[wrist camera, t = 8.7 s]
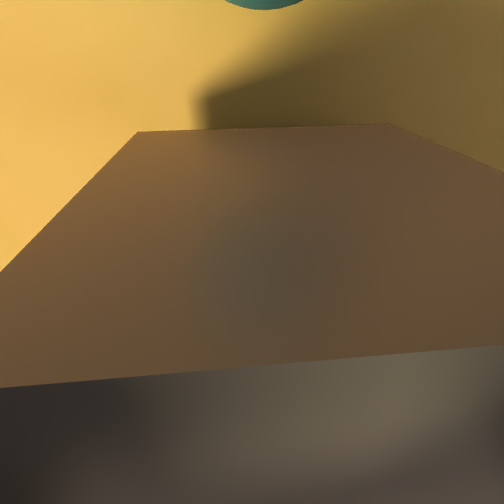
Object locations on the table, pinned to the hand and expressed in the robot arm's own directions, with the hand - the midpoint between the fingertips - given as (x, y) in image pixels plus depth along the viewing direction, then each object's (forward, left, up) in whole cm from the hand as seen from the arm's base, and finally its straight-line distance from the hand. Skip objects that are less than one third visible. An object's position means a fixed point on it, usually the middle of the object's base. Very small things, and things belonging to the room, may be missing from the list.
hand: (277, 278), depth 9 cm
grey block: (0, 0, -3) cm, 3 cm away
